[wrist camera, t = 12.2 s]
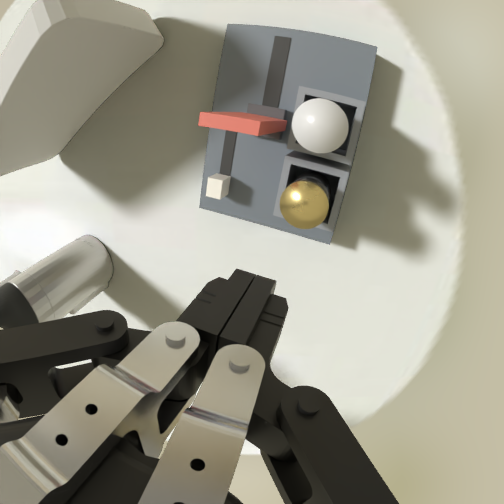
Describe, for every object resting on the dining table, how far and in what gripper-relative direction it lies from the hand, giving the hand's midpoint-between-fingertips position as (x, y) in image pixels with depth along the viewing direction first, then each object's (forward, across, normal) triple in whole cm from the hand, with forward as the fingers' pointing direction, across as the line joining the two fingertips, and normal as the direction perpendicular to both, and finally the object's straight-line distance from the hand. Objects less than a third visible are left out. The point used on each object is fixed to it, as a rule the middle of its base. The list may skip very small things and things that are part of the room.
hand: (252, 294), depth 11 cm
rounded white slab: (+24, +33, -6) cm, 41 cm away
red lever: (+20, +6, -5) cm, 22 cm away
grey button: (+16, 0, -6) cm, 17 cm away
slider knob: (+20, +9, +2) cm, 23 cm away
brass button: (+17, 0, 0) cm, 17 cm away
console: (+24, +4, -4) cm, 25 cm away
